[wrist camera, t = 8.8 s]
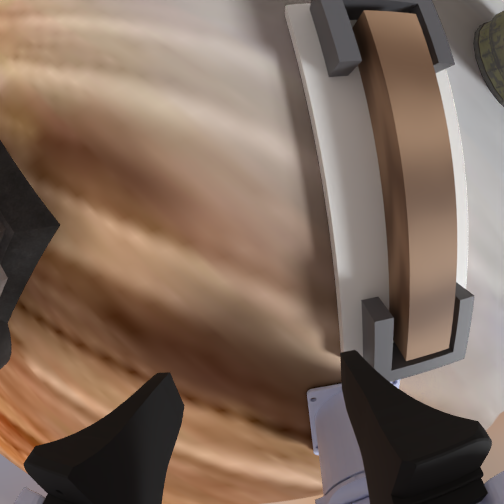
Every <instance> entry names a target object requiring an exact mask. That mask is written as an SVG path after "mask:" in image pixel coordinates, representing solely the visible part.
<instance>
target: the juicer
mask: <svg viewBox="0 0 504 504" xmlns="http://www.w3.org/2000/svg"><path fill="white" fill-rule="evenodd" d="M59 226H60V224H59V223H58V221H57V220H56V219H55V218H54V216H53V215H52V214H51V213H50V211H49V210H48V209H47V207H46V206H45V205H44V203H43V202H42V201H41V199H40V198H39V197H38V195H37V194H36V193H35V191H34V190H33V188H32V187H31V186H30V184H29V183H28V181H27V180H26V178H25V177H24V176H23V174H22V173H21V171H20V170H19V168H18V167H17V165H16V164H15V162H14V161H13V159H12V158H11V156H10V155H9V153H8V152H7V150H6V148H5V147H4V145H3V144H2V142H1V140H0V369H1V368H2V367H3V366H4V365H5V364H7V362H8V361H9V359H10V356H11V337H10V332H9V328H8V321H9V319H10V317H11V314H12V312H13V310H14V308H15V306H16V304H17V301H18V299H19V297H20V295H21V293H22V291H23V289H24V287H25V285H26V283H27V281H28V279H29V278H30V276H31V274H32V272H33V270H34V268H35V266H36V265H37V263H38V261H39V259H40V258H41V256H42V254H43V252H44V251H45V249H46V247H47V245H48V244H49V242H50V241H51V239H52V237H53V236H54V234H55V232H56V231H57V229H58V228H59Z"/></svg>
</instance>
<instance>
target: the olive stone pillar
mask: <svg viewBox="0 0 504 504" xmlns="http://www.w3.org/2000/svg"><path fill="white" fill-rule="evenodd" d="M474 49H475V55H476V60H477V63H478V65H479V68H480V71H481V74H482V76H483V78H484V80H485V82H486V83H487V85H488V87H489V89H490V91H491V92H492V93H493V95H494V96H495V97H496V99H497V100H498V101H499V103H501V104H502V105H503V106H504V11H502V12H500V13H499V14H497V15H495V17H494V18H493V20H492V21H490V22H487V23H484V24H482V25H480V26H479V28H478V29H477V31H476V32H475V38H474Z"/></svg>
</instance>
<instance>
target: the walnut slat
mask: <svg viewBox="0 0 504 504" xmlns="http://www.w3.org/2000/svg"><path fill="white" fill-rule="evenodd" d="M352 29H353V32H354V35H355V39H356V42H357V45H358V49H359V52H360V55H361V59H362V61H361V62H360V63H359V64H358V68H359V72H360V75H361V79H362V83H363V88H364V92H365V96H366V100H367V105H368V110H369V114H370V119H371V124H372V129H373V135H374V140H375V146H376V152H377V158H378V165H379V171H380V179H381V186H382V194H383V203H384V213H385V223H386V236H387V251H388V271H389V312H390V313H391V315H392V316H393V317H394V329H393V341H394V342H395V344H396V345H397V347H398V349H399V350H400V352H401V354H402V355H403V357H404V359H405V360H406V361H409V360H412V359H416V358H419V357H423V356H426V355H429V354H432V353H436V352H439V351H442V350H445V349H448V348H449V343H450V337H451V329H452V322H453V313H454V303H455V291H456V275H457V208H456V192H455V180H454V170H453V161H452V153H451V146H450V139H449V133H448V127H447V122H446V117H445V112H444V107H443V102H442V98H441V93H440V89H439V85H438V81H437V77H436V73H435V70H434V66H433V63H432V59H431V56H430V53H429V50H428V46H427V43H426V40H425V37H424V35H423V32H422V29H421V26H420V23H419V21H418V18H417V16H416V14H412V13H402V12H390V11H371V10H364V11H363V12H362V14H361V15H360V17H359V18H358V20H357V22H356V23H355V25H354V26H353V28H352Z"/></svg>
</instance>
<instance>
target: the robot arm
mask: <svg viewBox="0 0 504 504" xmlns="http://www.w3.org/2000/svg"><path fill="white" fill-rule="evenodd" d="M340 356H341V378H342V383H341V384H336V385H330V386H325V387H319V388H313V389H310V390H308V391H307V400H308V408H309V416H310V425H311V433H312V442H313V451H314V454H315V455H319V459H320V467H321V476H322V484H323V493H324V496H323V497H321V498H319V499H316V500H315V503H316V504H504V471H503V472H501V473H499V474H497V475H496V476H494V477H492V478H491V479H489V480H488V481H487V482H486V483H485V484H484V483H483V481H482V479H481V478H482V477H483V472H482V470H481V468H480V466H481V465H482V463H483V461H484V460H485V458H486V456H487V455H488V453H489V451H490V448H491V445H492V441H491V439H490V437H489V436H488V434H487V432H486V431H485V429H484V428H483V427H482V426H481V424H480V423H479V422H478V421H474V420H470V419H465V418H461V417H457V416H454V415H450V414H447V413H444V412H442V411H439V410H437V409H434V408H432V407H430V406H428V405H425V404H423V403H421V402H419V401H417V400H415V399H414V398H412V397H410V396H409V395H407V394H406V393H404V392H403V391H401V390H400V389H399V384H400V379H399V380H395V381H394V382H393V381H392V382H389V381H388V380H387V379H385V378H384V377H383V376H382V375H381V374H380V373H379V372H377V371H376V370H375V369H374V368H373V367H372V366H371V365H370V364H369V363H368V362H367V361H366V360H365V359H364V358H363V357H362V356H361V355H360V354H359V353H358V351H356V350H351V351H346V352H341V353H340ZM311 398H314V399H311ZM183 411H184V404H183V402H182V399H181V397H180V395H179V393H178V390H177V388H176V386H175V383H174V381H173V378H172V376H171V374H170V373H157V374H156V375H154V376H153V377H152V378H151V379H150V380H149V381H147V382H146V383H145V384H144V385H143V386H142V387H141V388H140V389H139V390H137V391H136V392H135V393H134V394H133V395H132V396H131V397H129V398H128V399H127V400H126V401H125V402H123V403H122V404H121V405H120V406H118V407H117V408H116V409H115V410H113V411H112V412H111V413H109V414H108V415H107V416H105V417H104V418H102V419H100V420H99V421H97V422H96V423H94V424H92V425H91V426H89V427H87V428H85V429H83V430H81V431H79V432H77V433H75V434H72V435H70V436H68V437H65V438H62V439H60V440H57V441H54V442H50V443H46V444H42V445H38V446H35V447H34V449H33V450H32V452H31V453H30V455H29V456H28V458H27V459H26V461H25V462H24V467H25V470H26V471H27V473H28V474H29V475H30V476H31V477H32V478H33V479H34V480H35V481H36V482H37V483H38V484H39V485H40V486H41V487H42V488H43V489H44V490H45V491H46V492H47V493H48V495H47V496H46V498H45V497H43V496H42V495H40V494H38V493H36V492H34V491H32V490H30V489H28V488H26V487H24V488H23V489H22V491H21V493H20V494H19V496H18V498H17V499H16V501H15V502H14V504H162V496H163V489H164V483H165V477H166V472H167V468H168V464H169V461H170V458H171V455H172V452H173V449H174V446H175V443H176V440H177V436H178V433H179V430H180V427H181V423H182V418H183Z"/></svg>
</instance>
